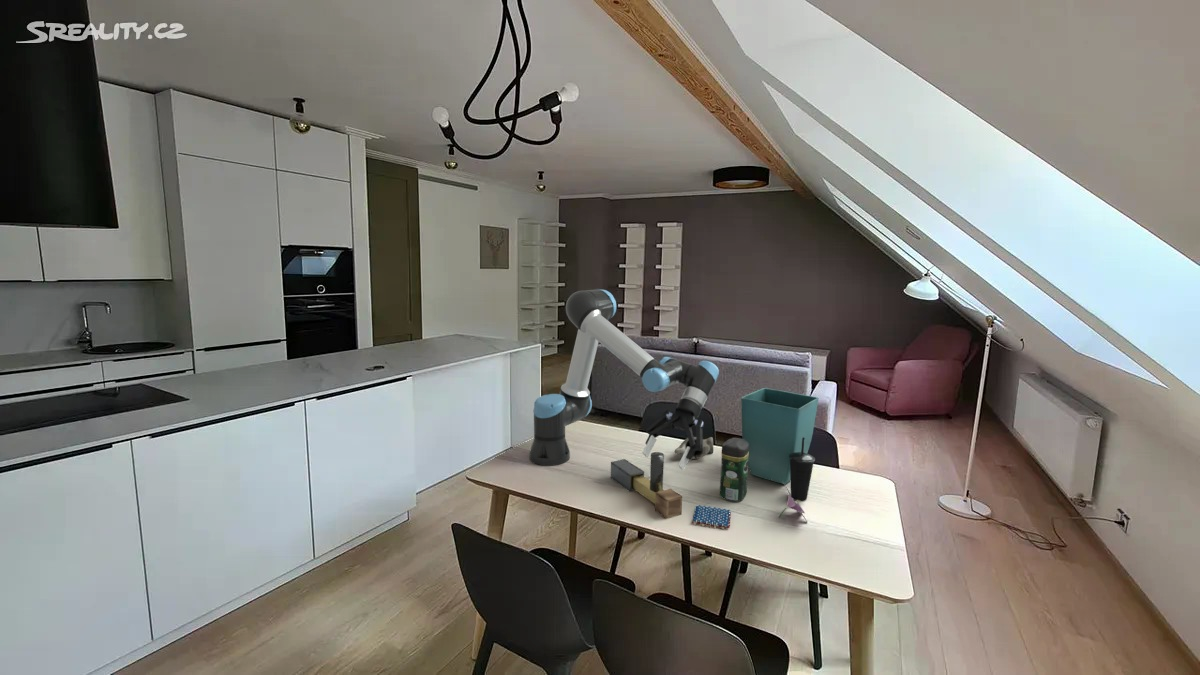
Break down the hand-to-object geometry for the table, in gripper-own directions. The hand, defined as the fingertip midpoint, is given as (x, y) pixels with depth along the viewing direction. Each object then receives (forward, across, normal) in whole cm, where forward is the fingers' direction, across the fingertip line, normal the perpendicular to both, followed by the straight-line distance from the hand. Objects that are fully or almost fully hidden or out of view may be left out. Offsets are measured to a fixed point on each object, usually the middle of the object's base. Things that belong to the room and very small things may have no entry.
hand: (662, 461), depth 157 cm
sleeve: (+7, +16, -12) cm, 21 cm away
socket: (+12, -5, -7) cm, 15 cm away
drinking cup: (-14, -30, -34) cm, 47 cm away
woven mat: (+8, -17, -12) cm, 22 cm away
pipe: (-19, +12, -38) cm, 45 cm away
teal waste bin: (-22, -17, -42) cm, 50 cm away
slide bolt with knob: (+9, +4, -8) cm, 13 cm away
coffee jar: (-4, -14, -24) cm, 28 cm away
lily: (-4, -34, -24) cm, 41 cm away
